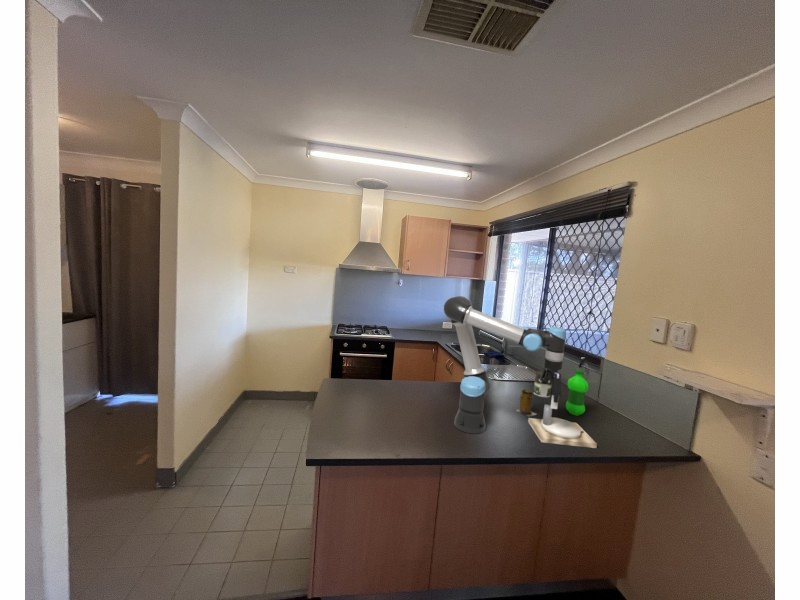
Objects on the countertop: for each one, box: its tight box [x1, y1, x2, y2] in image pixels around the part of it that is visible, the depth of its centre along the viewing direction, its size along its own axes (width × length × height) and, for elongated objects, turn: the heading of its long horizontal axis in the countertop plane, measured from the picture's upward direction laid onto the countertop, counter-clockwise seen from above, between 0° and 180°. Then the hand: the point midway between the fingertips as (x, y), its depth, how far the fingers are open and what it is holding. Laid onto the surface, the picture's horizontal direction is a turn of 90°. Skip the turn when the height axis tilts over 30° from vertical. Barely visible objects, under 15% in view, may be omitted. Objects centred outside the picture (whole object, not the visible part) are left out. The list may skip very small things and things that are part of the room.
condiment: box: [515, 389, 537, 417], centre depth 173 cm, size 7×8×12 cm
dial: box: [541, 404, 581, 439], centre depth 151 cm, size 17×17×11 cm
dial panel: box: [527, 417, 598, 449], centre depth 151 cm, size 24×20×2 cm
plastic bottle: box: [565, 368, 589, 417], centre depth 175 cm, size 10×10×25 cm
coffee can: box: [532, 370, 552, 398], centre depth 202 cm, size 10×10×14 cm
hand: (548, 402), depth 151 cm, fingers open, 13 cm apart
